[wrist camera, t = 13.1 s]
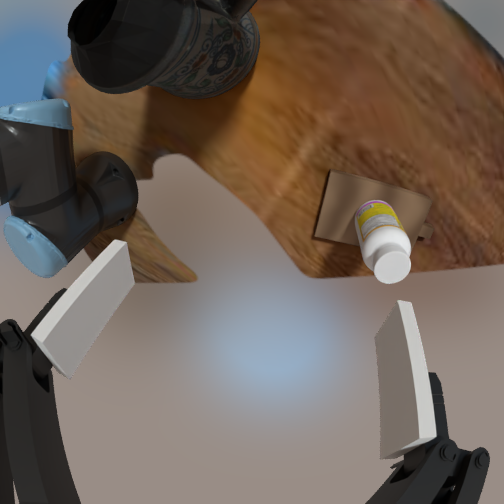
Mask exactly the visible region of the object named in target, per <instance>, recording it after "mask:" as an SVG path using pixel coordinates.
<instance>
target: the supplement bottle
mask: <svg viewBox="0 0 504 504" xmlns="http://www.w3.org/2000/svg"><path fill="white" fill-rule="evenodd" d="M355 227H356V231H357V235H358V239H359V243H360V248H361V253H362V257H363V260H364V262H365V264H366V265H367V267H368V268H369V269H371V270H372V271H374V274H375V276H376V278H377V279H378V280H379V281H381V282H383V283H387V284H391V283H396V282H399V281H401V280H402V279H404V278H405V277H406V276H407V274H408V273H409V271H410V268H411V262H410V259H409V256H410V253H411V244H410V241H409V238H408V236H407V234H406V232H405V230H404V229H403V227H402V225H401V223H400V221H399V219H398V217H397V215H396V214H395V212H394V210H393V209H392V207H391V206H390V205H389V204H388V203H386V202H384V201H381V200H372V201H368V202H366V203H364V204H363V205H362V206H361V207H360V208H359V209H358V211H357V213H356V215H355Z"/></svg>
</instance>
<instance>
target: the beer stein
mask: <svg viewBox="0 0 504 504" xmlns="http://www.w3.org/2000/svg"><path fill="white" fill-rule="evenodd" d="M256 2H257V0H83V1H82V2H81V3H80V4H79V5H78V7H76V9H75V10H74V11H73V13H72V16H71V18H70V21H69V23H68V37H69V38H70V39H71V54H72V59H73V63H74V65H75V67H76V69H77V71H78V72H79V73H80V75H81V76H82V77H83V78H84V80H85V81H86V82H87V83H88V84H89V85H91V86H92V87H94V88H95V89H97V90H99V91H101V92H105V93H109V94H121V93H128V92H131V91H135V90H138V89H140V88H142V87H144V86H146V85H148V86H156V87H161V88H162V89H163V90H165V91H167V92H169V93H171V94H172V95H175V96H178V97H182V98H188V99H204V98H209V97H214V96H217V95H220V94H222V93H224V92H226V91H228V90H230V89H231V88H233V87H234V86H236V85H237V84H238V83H240V82H241V81H242V80H243V79H244V78H245V77H246V75H247V74H248V73H249V71H250V70H251V69H252V67H253V65H254V63H255V62H256V59H257V56H258V52H259V47H260V35H259V30H258V26H257V23H256V21H255V19H254V18H253V16H252V14H251V13H250V12H249V10H250V9H251V8H252V6H253V5H254V4H255V3H256Z"/></svg>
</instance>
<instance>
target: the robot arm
mask: <svg viewBox="0 0 504 504" xmlns="http://www.w3.org/2000/svg"><path fill="white" fill-rule="evenodd" d="M73 130H74V128H73V126H72V119H71V107H70V104H69V103H68V102H67V101H66V100H64V99H48V100H40V101H32V102H25V103H19V104H13V105H9V106H4V107H0V206H1V205H3V204H5V203H7V202H9V205H10V209H11V214H12V215H11V216H9V217H7V220H6V221H5V222H4V235H5V238H6V240H7V242H8V244H9V246H10V248H11V250H12V251H13V253H14V254H15V256H16V257H17V258H18V259H19V261H21V263H22V264H23V265H24V266H25V267H26V268H28V269H29V270H30V271H31V272H33V273H34V274H36V275H38V276H40V277H43V278H50V277H52V276H54V275H55V274H56V273H58V272H59V271H60V270H61V269H62V268H63V267H66V265H67V264H68V263H69V262H70V261H71V260H72V259H73V258H74V257H75V256H76V255H77V254H78V253H79V252H80V251H81V250H82V249H83V248H84V247H85V246H86V245H87V244H88V243H89V242H90V241H91V240H92V239H93V238H94V237H95V236H96V235H97V234H98V233H99V232H101V231H104V230H107V229H110V228H113V227H116V226H118V225H121V224H122V223H124V222H125V221H126V220H127V219H128V218H130V217H131V216H132V214H133V213H134V212H135V210H136V207H137V203H138V188H137V183H136V180H135V177H134V175H133V173H132V171H131V170H130V168H129V167H128V165H127V164H126V163H125V162H124V161H123V160H122V159H121V158H119V157H118V156H116V155H115V154H112V153H110V152H97V153H94V154H92V155H90V156H88V157H87V158H85V159H84V160H83V161H82V162H81V163H80V164H79V165H78V167H77V168H76V169H75V162H74V149H73ZM134 284H135V282H134V277H133V272H132V268H131V263H130V257H129V252H128V247H127V242H124V241H119V240H114V241H113V242H112V243H111V244H110V245H109V246H108V247H107V248H106V249H105V250H104V251H103V252H102V253H101V254H100V255H99V256H98V257H97V258H96V259H95V260H94V261H93V262H92V263H91V264H90V265H89V266H88V267H87V269H86V270H85V271H84V272H83V273H82V274H81V275H80V276H79V277H78V278H77V279H76V281H75V282H74V283H73V284H72V285H71V286H70V287H69V289H65V288H63V289H62V290H60V291H59V292H58V293H56V294H55V295H54V296H53V297H52V298H51V299H50V301H49V303H47V304H46V305H45V307H44V308H43V309H42V310H41V311H40V312H39V314H38V315H37V316H36V317H35V319H34V320H33V321H32V322H31V324H30V325H29V326H28V327H27V329H26V330H25V331H24V332H22V330H21V328H20V327H19V325H18V324H17V322H16V321H15V320H13V319H7V320H5V321H4V322H2V323H1V324H0V504H15V499H14V488H13V481H14V485H15V488H16V492H17V496H18V499H19V504H81V502H80V499H79V497H78V494H77V491H76V488H75V485H74V482H73V479H72V475H71V472H70V469H69V465H68V461H67V458H66V454H65V450H64V445H63V441H62V437H61V432H60V426H59V421H58V415H57V409H56V402H55V394H54V387H53V386H54V385H53V375H52V371H51V368H52V366H54V368H55V369H56V370H57V371H58V372H59V373H60V374H62V375H63V376H65V377H67V378H68V379H71V377H72V376H73V374H74V373H75V371H76V369H77V368H78V366H79V365H80V363H81V361H82V360H83V358H84V357H85V355H86V353H87V352H88V350H89V349H90V347H91V346H92V344H93V342H94V341H95V340H96V338H97V337H98V335H99V334H100V332H101V331H102V329H103V328H104V326H105V325H106V323H107V322H108V320H109V319H110V318H111V316H112V315H113V313H114V312H115V310H116V309H117V308H118V306H119V305H120V303H121V302H122V301H123V299H124V298H125V297H126V295H127V294H128V292H129V291H130V290H131V288H132V287H133V286H134ZM375 344H376V354H377V365H378V377H379V394H380V421H381V422H380V427H381V441H380V442H381V443H380V459H394V458H398V457H400V456H402V455H404V460H402V461H400V462H398V463H396V464H394V465H393V466H392V467H390V468H392V469H393V468H395V467H397V468H396V469H395V470H394V471H393V473H392V474H391V475H390V476H389V478H388V479H387V480H386V481H385V482H384V484H383V485H382V486H381V487H380V488H379V490H377V492H376V493H375V494H374V495H373V496H372V497H371V498H370V499H369V500H368V501H367V502H366V503H365V504H477V503H478V501H479V498H480V494H481V492H482V489H483V485H484V482H485V478H486V475H487V471H488V467H489V462H490V457H489V453H488V451H487V450H486V449H485V448H482V447H480V448H477V449H475V450H474V451H472V452H471V451H467V450H463V449H459V448H458V447H457V445H456V443H455V442H454V441H453V440H451V439H449V435H448V427H447V419H446V411H445V405H444V398H443V396H442V394H443V392H442V387H441V382H440V380H439V379H438V377H437V375H436V373H430V372H428V371H427V365H426V360H425V356H424V351H423V347H422V342H421V338H420V334H419V330H418V326H417V322H416V318H415V315H414V311H413V307H412V304H411V303H410V302H405V301H400V300H397V302H396V304H395V306H394V307H393V309H392V311H391V312H390V314H389V316H388V317H387V319H386V320H385V322H384V324H383V325H382V327H381V328H380V330H379V331H378V333H377V335H376V336H375ZM454 486H455V487H454ZM453 488H454V490H453Z"/></svg>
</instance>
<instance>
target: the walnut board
mask: <svg viewBox="0 0 504 504" xmlns="http://www.w3.org/2000/svg"><path fill="white" fill-rule="evenodd" d="M372 200H381V201H384V202H386V203H388V204H389V205H390V206H391V207H392V209H393V210H394V212H395V214H396V215H397V217H398V219H399V221H400V223H401V225H402V227H403V229H404V230H405V232H406V234H407V236H408V238H409V241H410V244H411V251H412V249H413V247H414V244H415V242H416V240H417V238H418V236H421V237H424V238H428V239H430V237H431V235H432V233H433V231H434V228H433V226H432V225H431V224H428V223H425V222H424V221H425V219H426V216H427V214H428V211H429V209H430V206H431V204H432V199H431V198H430V197H428V196H425V195H422V194H419V193H416V192H413V191H410V190H407V189H404V188H400V187H397V186H394V185H391V184H387V183H384V182H380V181H377V180H373V179H369V178H366V177H362V176H358V175H354V174H350V173H346V172H342V171H338V170H334V169H330V172H329V176H328V181H327V185H326V189H325V193H324V197H323V202H322V206H321V210H320V214H319V218H318V221H317V225H316V229H315V237H320V238H324V239H329V240H333V241H338V242H342V243H347V244H351V245H356V246H360V243H359V239H358V235H357V231H356V227H355V215H356V213H357V211H358V209H359V208H360V207H361V206H362V205H363V204H364V203H366V202H368V201H372Z"/></svg>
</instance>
